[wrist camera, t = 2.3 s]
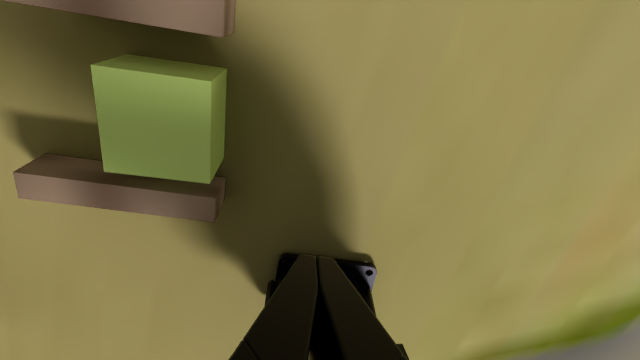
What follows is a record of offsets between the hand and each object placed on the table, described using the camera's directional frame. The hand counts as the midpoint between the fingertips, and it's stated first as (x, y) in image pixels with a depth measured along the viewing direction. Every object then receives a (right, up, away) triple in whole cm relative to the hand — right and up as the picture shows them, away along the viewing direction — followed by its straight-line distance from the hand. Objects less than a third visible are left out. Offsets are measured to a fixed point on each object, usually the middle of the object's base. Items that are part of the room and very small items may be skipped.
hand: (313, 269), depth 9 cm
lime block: (-7, +6, +10) cm, 14 cm away
